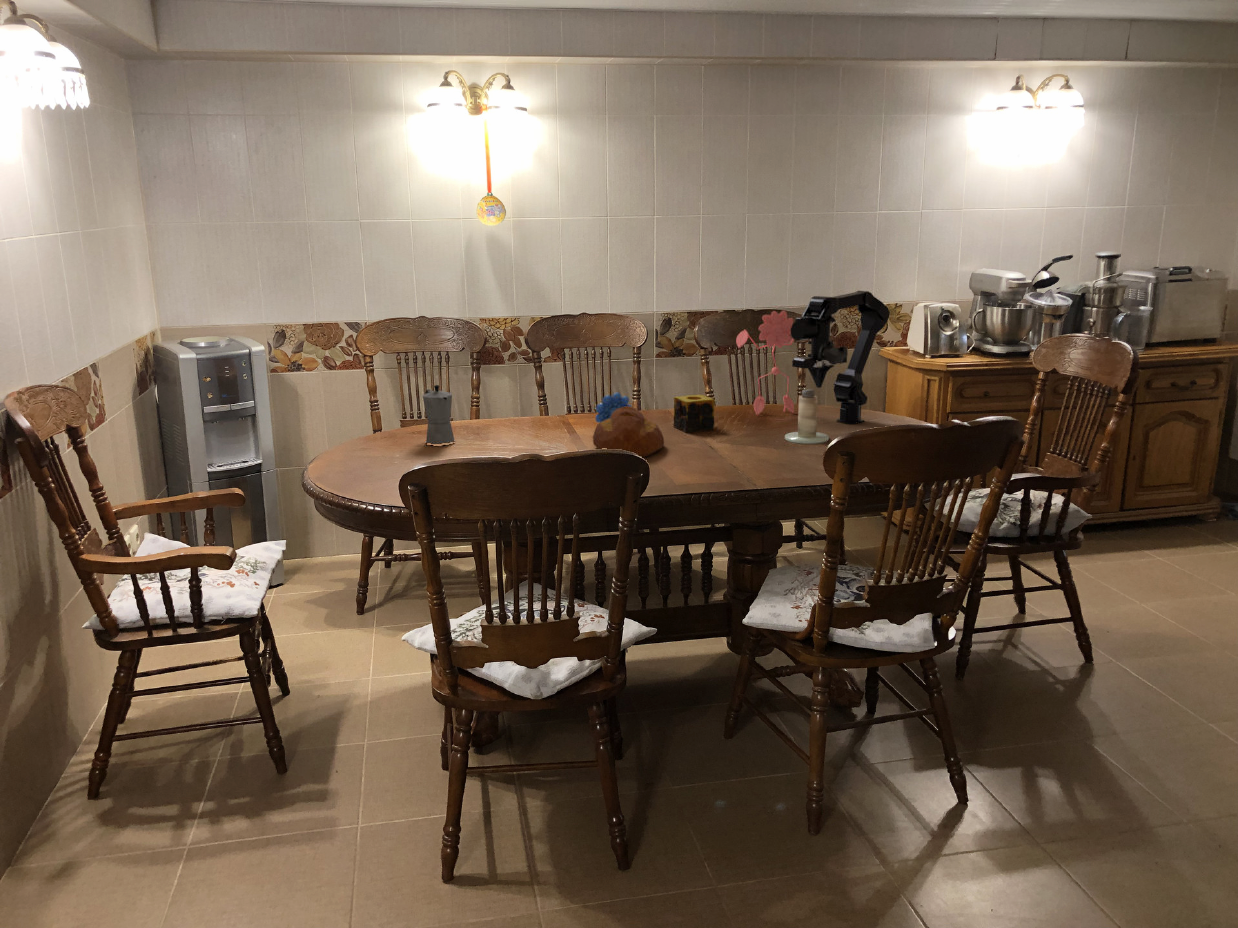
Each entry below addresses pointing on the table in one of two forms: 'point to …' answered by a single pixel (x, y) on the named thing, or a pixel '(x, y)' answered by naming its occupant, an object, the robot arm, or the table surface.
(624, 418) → the bread
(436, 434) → the coffeepot
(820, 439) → the pale green coaster
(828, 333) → the robot arm
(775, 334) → the figurine
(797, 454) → the table surface
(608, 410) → the grapes
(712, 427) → the black and yellow cube
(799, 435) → the pepper mill
